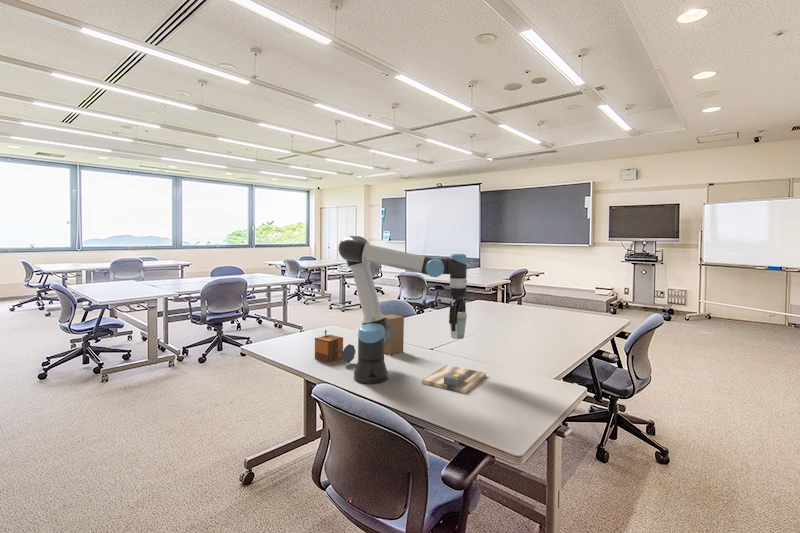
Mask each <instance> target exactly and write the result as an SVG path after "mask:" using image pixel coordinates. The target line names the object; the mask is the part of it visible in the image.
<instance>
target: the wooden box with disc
mask: <svg viewBox="0 0 800 533" xmlns="http://www.w3.org/2000/svg"><path fill="white" fill-rule="evenodd" d="M324 334H325V335H321V336H318V337H314V359H316V360H319V361H322V362H326V363H331V362H334V361H338V360H340V358H341V359H343V362H344V363H348V364H349V363H351V362H352V361H353V360H354V359H355V356H356V349H355V345H353V344H350V343H349V344H347V345H346V346H345V347H344V337H342V336H339V335H333V334H327V329H325V330H324ZM337 359H338V360H337Z"/></svg>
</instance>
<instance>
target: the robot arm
mask: <svg viewBox="0 0 800 533" xmlns="http://www.w3.org/2000/svg"><path fill="white" fill-rule="evenodd" d="M338 253H339V255H340V257H341V258H342V259H343V260H345V261H346V264H347V267H348V268H349V269H350V270H351V271H352V275H353V279H354V282H355V287H356V290H357V291H356V292H357V295H358V300H359V303H360V307H361V308H360V309H361V311H362V316H363V320H362V322H361V324H362V325H360V326H359V328H358V332H357V337H358V338H357V339H358V340H357V355H358V356H357V363H356V367H355V369H354V372H353V380H355V382H358V383H360V384H372V385H373V384H379V383H382V382H385V381H386V382H387V380H388V377H389V373H388V372H389V371H388V369H387V365H386V363H385V353H384V346H385V344H386V343H387V342H388V340H389V339H390V336H391V329H390V326H389V325H388V323H387V321H386V317H385V316H384V315H385V314H383V313H382V310H381V307H380V302H379V298H378V295H377V290H376V287H375V283H374V282H375V281H374V278H373V274H372V271H371V270H372V269H371V267H370V266H371V264H377V265H381V266H386V267H391V268H395V269H400V270H404V271H409V272H414V273H417V274H418V273H419V274H423V275H427V276H429V277H432V278H438V277H439V276H442V275H449V276H450V277H449V286H450V287H449V296H450V297H452V301H451V300H450V301H449V313H450V315H449V314H448V317H449V319H448V324H449V325H450V324H451V329H450V338H451V339H454V338H457V324H456V323H457V313H458V312H463V311H465V312H466V313H467V306H466V301H467V300H466V298H465V297H467V288H466V287H467V283H468V280H467V273H468V272H467V269H468V267H467V265H468V264H467V261H468V260H467V255H466V254H464V253H450V256H449V257H444V258H443V257H430V256H423V255H419V254H415V253H409V252H405V251H401V250H396V249H391V248H387V247H383V246H379V245H373V244H370V242H369V241H368V240H367V239H366V238H364V237H363V236H359V235H348V236H345V237H343V238H342V239H341V241H340V242H339V244H338Z"/></svg>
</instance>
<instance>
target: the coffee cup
mask: <svg viewBox="0 0 800 533" xmlns="http://www.w3.org/2000/svg"><path fill="white" fill-rule="evenodd" d="M467 314H468V313H467V311H466V312H465V311H463V312H458V313H457V323H456V324H457V338H453V340H463V339H464V338H465V334H466V333H465V332H466V326H467V325H466V324H467V318H468V315H467ZM449 315H450V312H449V313H448V316H449ZM449 327H450V330H451V324H449Z"/></svg>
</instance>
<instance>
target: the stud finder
mask: <svg viewBox="0 0 800 533" xmlns="http://www.w3.org/2000/svg"><path fill="white" fill-rule="evenodd" d="M464 381H465V374H461V373H456V372H451V373H449V374H448V375H446V376H445V377H444V384H447V385H451V386H455V387H457V386H459V385H460V384H461V383H463V382H464Z"/></svg>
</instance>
